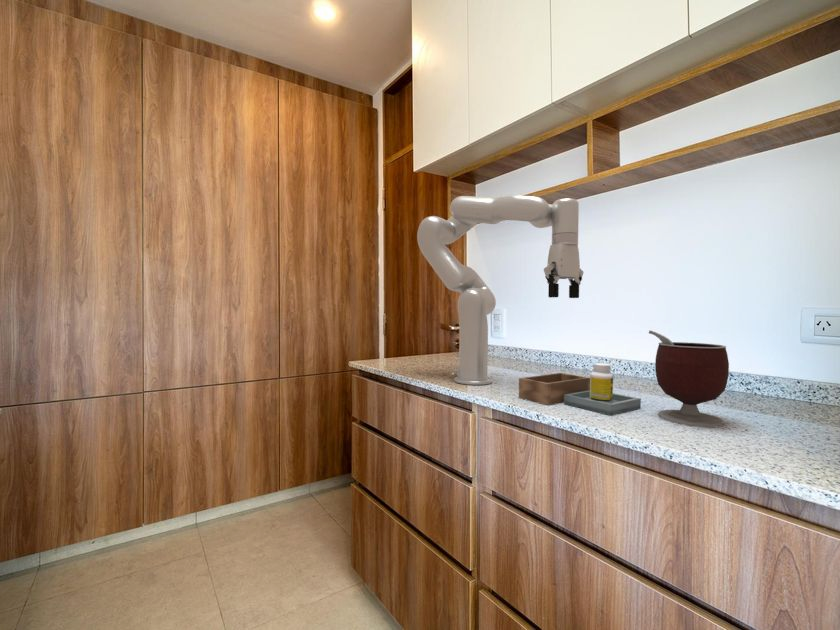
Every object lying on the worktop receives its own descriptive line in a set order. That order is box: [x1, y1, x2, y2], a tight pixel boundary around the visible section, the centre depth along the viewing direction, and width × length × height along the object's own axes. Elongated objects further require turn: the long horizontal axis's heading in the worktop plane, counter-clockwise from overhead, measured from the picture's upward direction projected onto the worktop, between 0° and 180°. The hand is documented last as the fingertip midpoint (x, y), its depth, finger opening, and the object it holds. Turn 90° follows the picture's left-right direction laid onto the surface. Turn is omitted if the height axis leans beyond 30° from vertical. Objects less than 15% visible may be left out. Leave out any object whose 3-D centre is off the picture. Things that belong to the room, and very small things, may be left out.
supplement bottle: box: [589, 362, 614, 404], centre depth 104 cm, size 5×5×10 cm
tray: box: [563, 390, 642, 417], centre depth 104 cm, size 13×13×2 cm
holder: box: [518, 372, 590, 406], centre depth 114 cm, size 10×18×6 cm, turn 123°
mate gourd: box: [648, 329, 730, 428], centre depth 93 cm, size 16×14×20 cm
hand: (563, 297), depth 123 cm, fingers open, 9 cm apart
